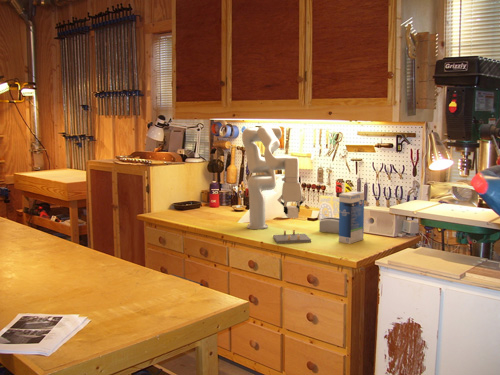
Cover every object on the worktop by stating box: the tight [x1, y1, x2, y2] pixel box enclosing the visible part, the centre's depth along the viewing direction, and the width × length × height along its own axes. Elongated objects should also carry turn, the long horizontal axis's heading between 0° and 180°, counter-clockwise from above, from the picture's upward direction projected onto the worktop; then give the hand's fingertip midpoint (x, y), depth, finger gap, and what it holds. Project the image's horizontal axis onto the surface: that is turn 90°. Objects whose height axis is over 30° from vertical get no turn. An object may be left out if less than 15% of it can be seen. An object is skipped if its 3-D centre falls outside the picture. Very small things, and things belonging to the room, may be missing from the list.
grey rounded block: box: [319, 216, 339, 234], centre depth 293 cm, size 17×5×10 cm, turn 62°
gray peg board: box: [272, 229, 312, 245], centre depth 275 cm, size 14×18×4 cm
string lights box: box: [338, 190, 365, 245], centre depth 271 cm, size 13×8×26 cm, turn 135°
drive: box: [284, 205, 299, 219], centre depth 273 cm, size 9×6×5 cm, turn 5°
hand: (291, 213), depth 274 cm, fingers closed on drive, 5 cm apart
